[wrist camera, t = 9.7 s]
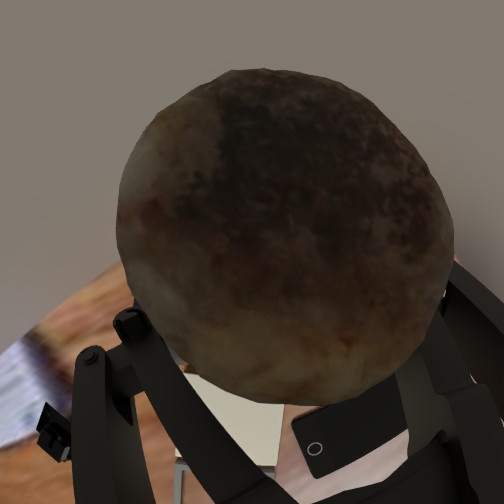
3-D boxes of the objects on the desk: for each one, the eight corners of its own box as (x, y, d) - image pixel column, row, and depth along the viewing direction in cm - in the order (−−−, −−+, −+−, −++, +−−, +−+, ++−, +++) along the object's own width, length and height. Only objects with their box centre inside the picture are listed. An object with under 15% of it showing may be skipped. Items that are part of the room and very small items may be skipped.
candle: (272, 263, 25) (362, 55, 6) (306, 341, 23) (518, 299, 4) (188, 294, 24) (67, 121, 5) (220, 377, 22) (170, 505, 3)
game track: (174, 529, 21) (173, 534, 20) (196, 275, 32) (195, 272, 31) (262, 537, 22) (263, 542, 21) (292, 286, 33) (294, 284, 32)
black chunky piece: (116, 448, 25) (101, 460, 21) (98, 483, 23) (84, 497, 19) (41, 388, 26) (21, 391, 22) (28, 426, 24) (9, 431, 20)
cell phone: (288, 421, 28) (290, 423, 27) (413, 355, 32) (417, 355, 31) (312, 477, 26) (314, 480, 25) (429, 409, 29) (433, 409, 28)
